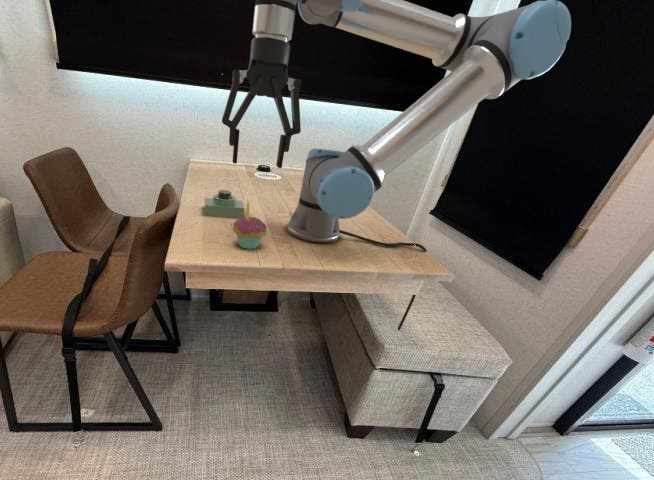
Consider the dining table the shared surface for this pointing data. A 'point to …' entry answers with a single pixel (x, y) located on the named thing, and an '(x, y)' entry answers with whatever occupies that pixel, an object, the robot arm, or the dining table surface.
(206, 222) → the dining table surface
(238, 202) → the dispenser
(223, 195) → the pump
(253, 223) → the cupcake
